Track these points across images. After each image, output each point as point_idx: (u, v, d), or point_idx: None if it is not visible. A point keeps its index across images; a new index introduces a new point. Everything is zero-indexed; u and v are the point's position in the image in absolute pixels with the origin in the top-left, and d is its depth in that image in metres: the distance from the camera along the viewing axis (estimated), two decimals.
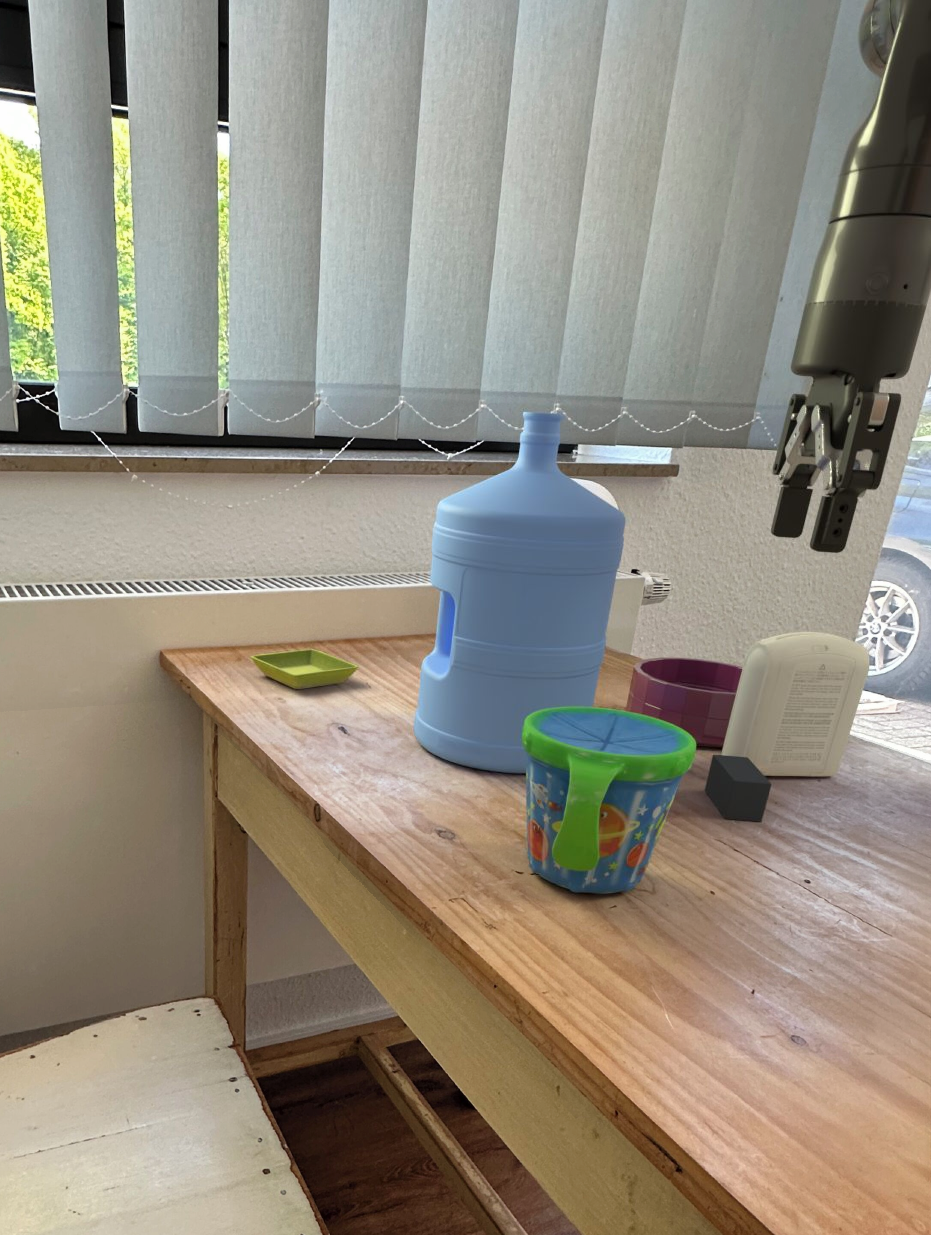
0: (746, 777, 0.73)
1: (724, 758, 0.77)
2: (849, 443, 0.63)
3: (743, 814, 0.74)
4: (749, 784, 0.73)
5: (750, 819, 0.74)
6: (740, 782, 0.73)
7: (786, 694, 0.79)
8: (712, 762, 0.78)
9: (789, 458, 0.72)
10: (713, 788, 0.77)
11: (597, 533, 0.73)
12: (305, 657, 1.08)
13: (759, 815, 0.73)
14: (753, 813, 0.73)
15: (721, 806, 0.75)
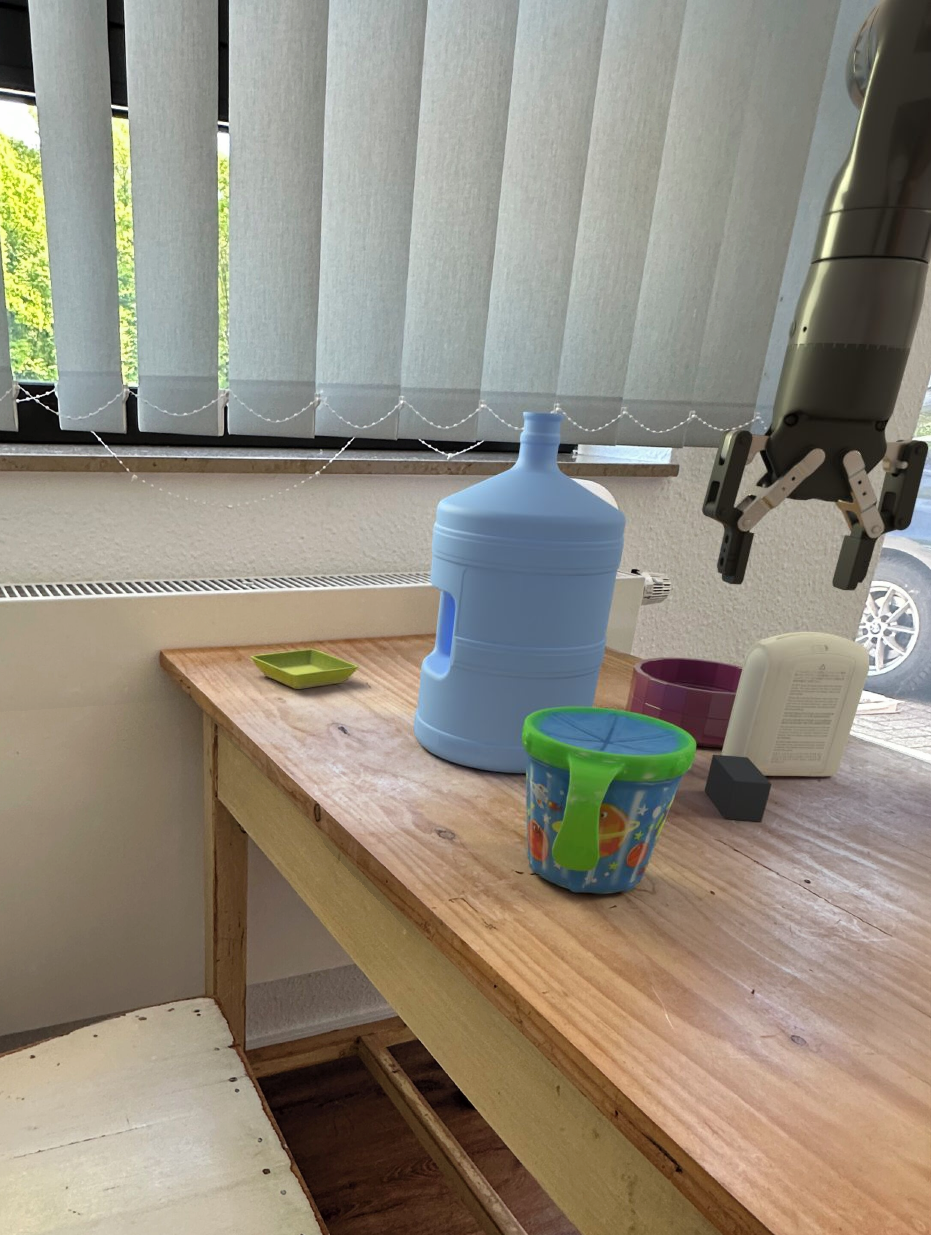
0: (746, 777, 0.73)
1: (724, 758, 0.77)
2: None
3: (743, 814, 0.74)
4: (749, 784, 0.73)
5: (750, 819, 0.74)
6: (740, 782, 0.73)
7: (786, 694, 0.79)
8: (712, 762, 0.78)
9: (836, 503, 0.70)
10: (713, 788, 0.77)
11: (597, 532, 0.73)
12: (305, 657, 1.08)
13: (759, 815, 0.73)
14: (753, 813, 0.73)
15: (721, 806, 0.75)
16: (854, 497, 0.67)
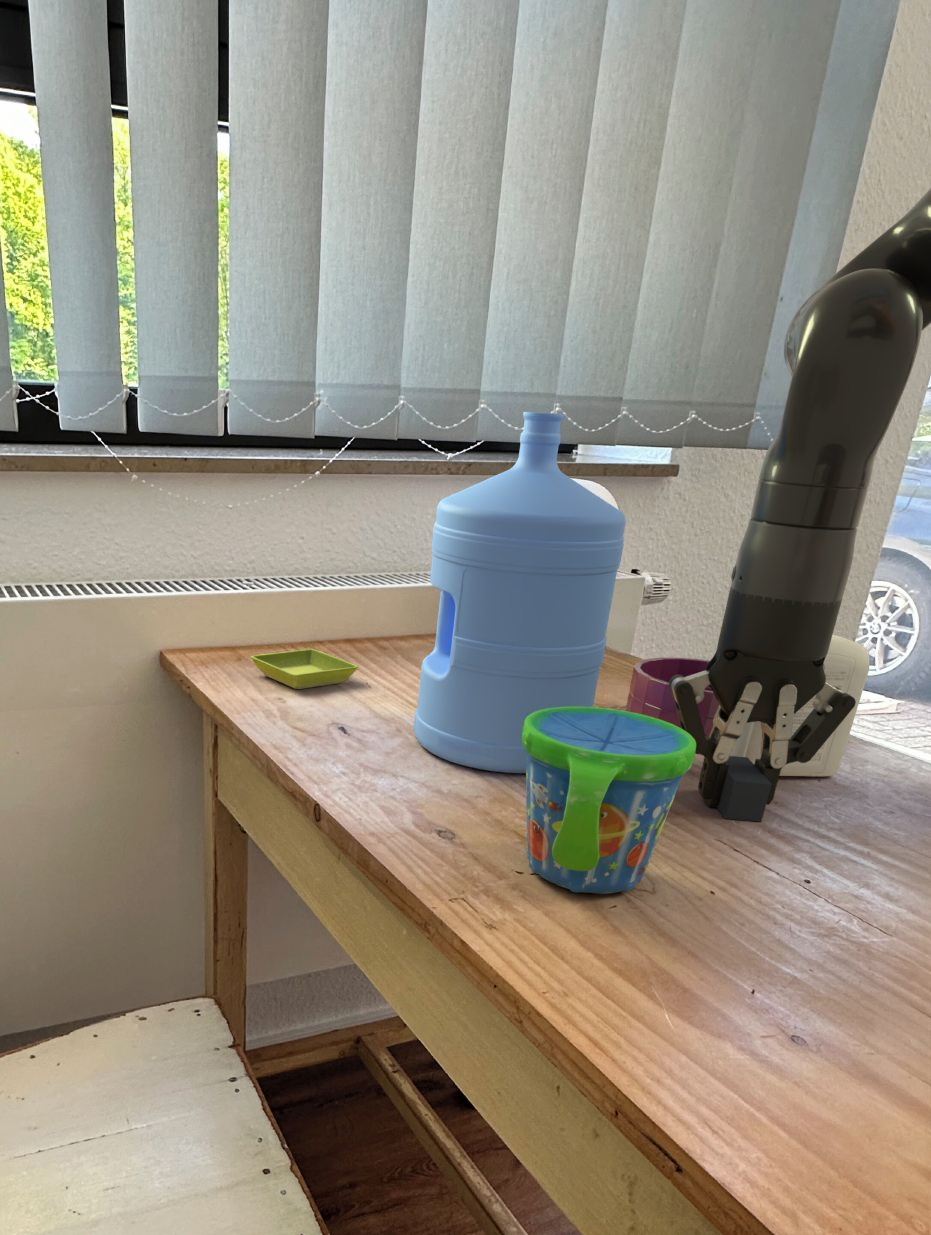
0: (745, 777, 0.73)
1: None
2: None
3: (743, 814, 0.74)
4: (749, 784, 0.73)
5: (750, 819, 0.74)
6: (740, 782, 0.73)
7: None
8: None
9: (761, 723, 0.75)
10: None
11: (597, 532, 0.73)
12: (305, 657, 1.08)
13: (759, 815, 0.73)
14: (753, 813, 0.73)
15: (721, 806, 0.75)
16: (774, 724, 0.72)
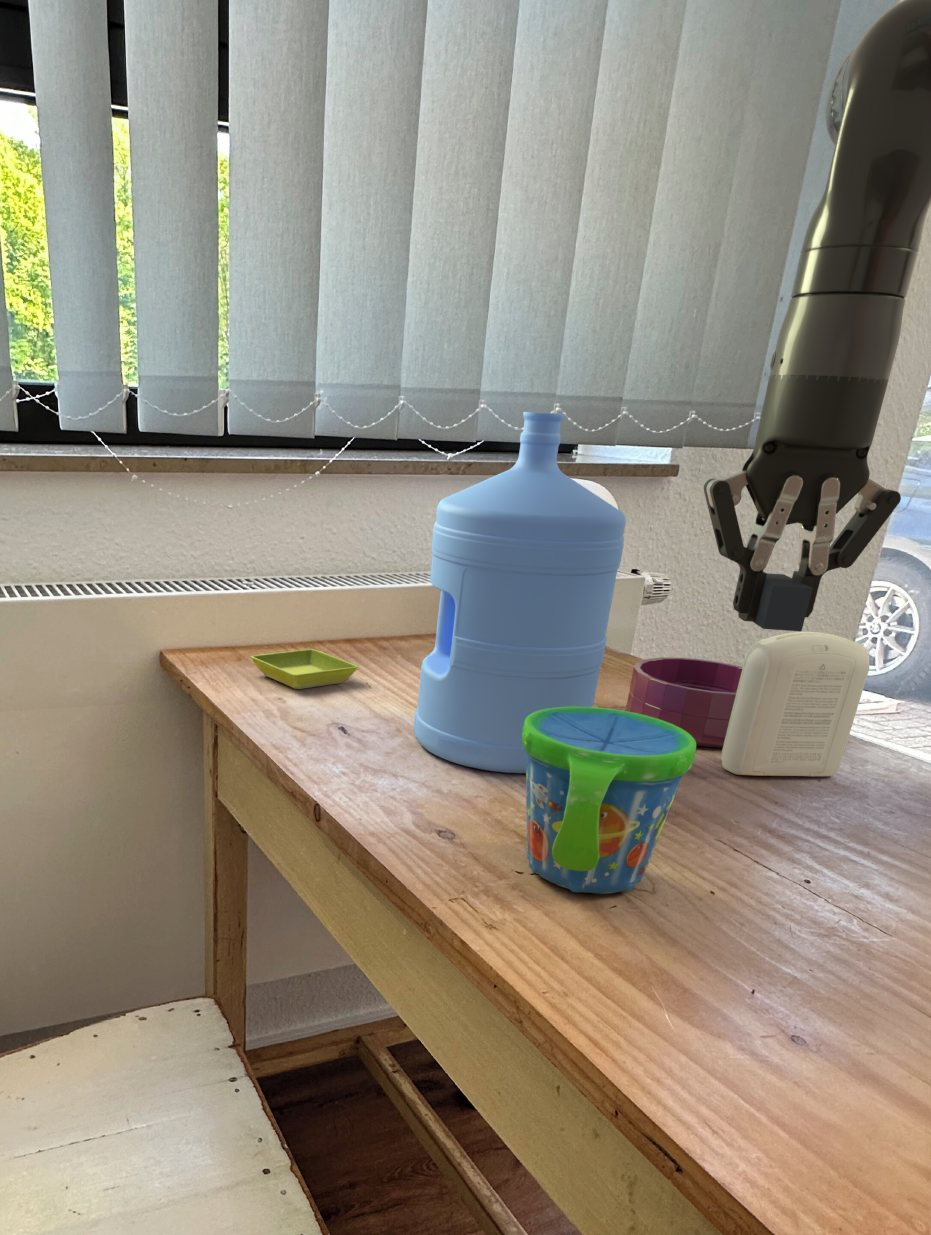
0: (785, 584, 0.70)
1: None
2: None
3: (782, 623, 0.70)
4: (789, 589, 0.69)
5: (789, 628, 0.70)
6: (780, 587, 0.69)
7: (786, 694, 0.79)
8: None
9: (799, 532, 0.72)
10: None
11: (597, 532, 0.73)
12: (305, 657, 1.08)
13: (800, 623, 0.70)
14: (793, 622, 0.70)
15: (758, 618, 0.72)
16: (815, 525, 0.69)
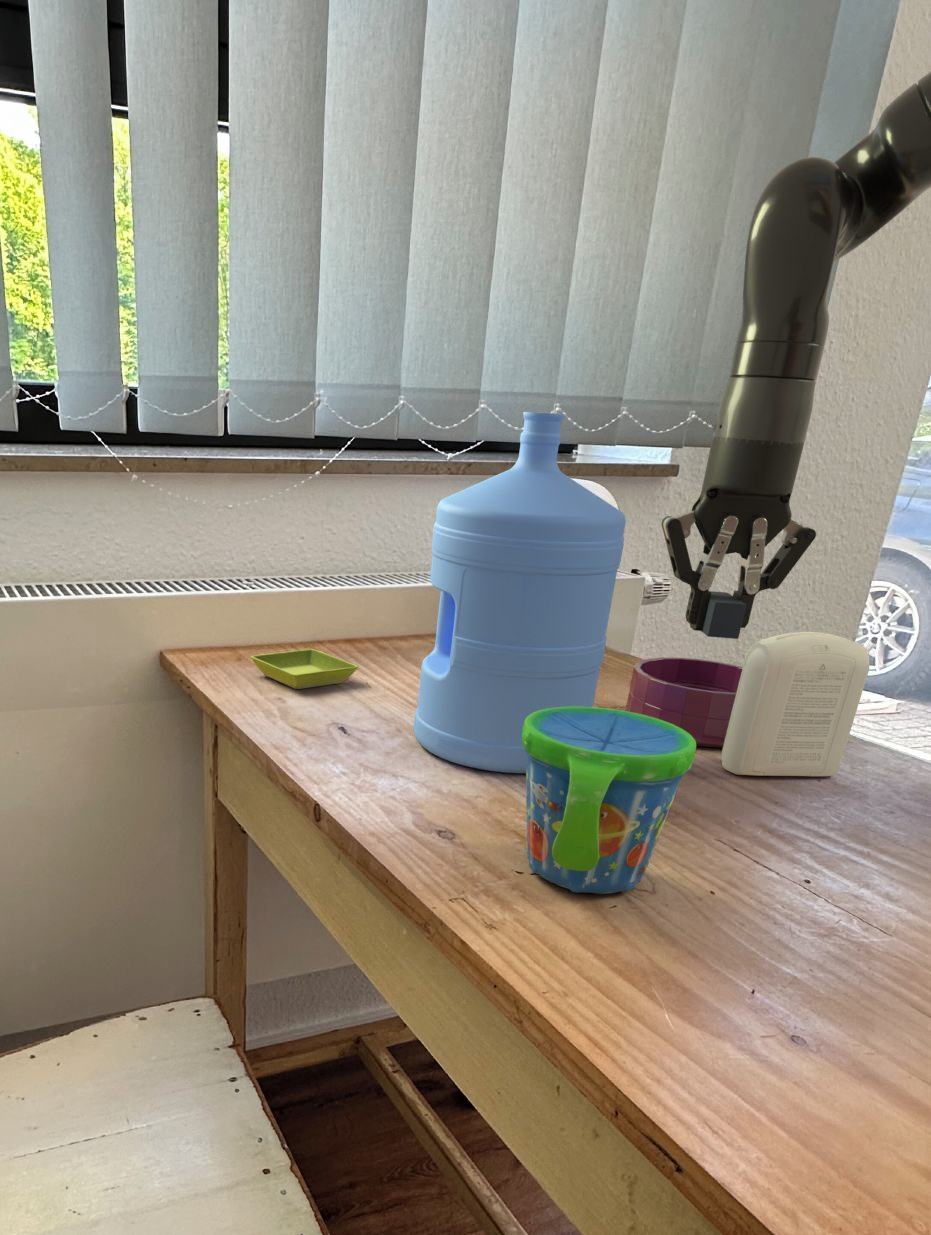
0: (725, 601, 0.88)
1: None
2: None
3: (723, 632, 0.88)
4: (728, 605, 0.87)
5: (728, 636, 0.88)
6: (720, 603, 0.87)
7: (786, 694, 0.79)
8: None
9: (738, 559, 0.90)
10: None
11: (597, 532, 0.73)
12: (305, 657, 1.08)
13: (736, 632, 0.88)
14: (731, 631, 0.88)
15: (705, 628, 0.89)
16: (749, 554, 0.86)
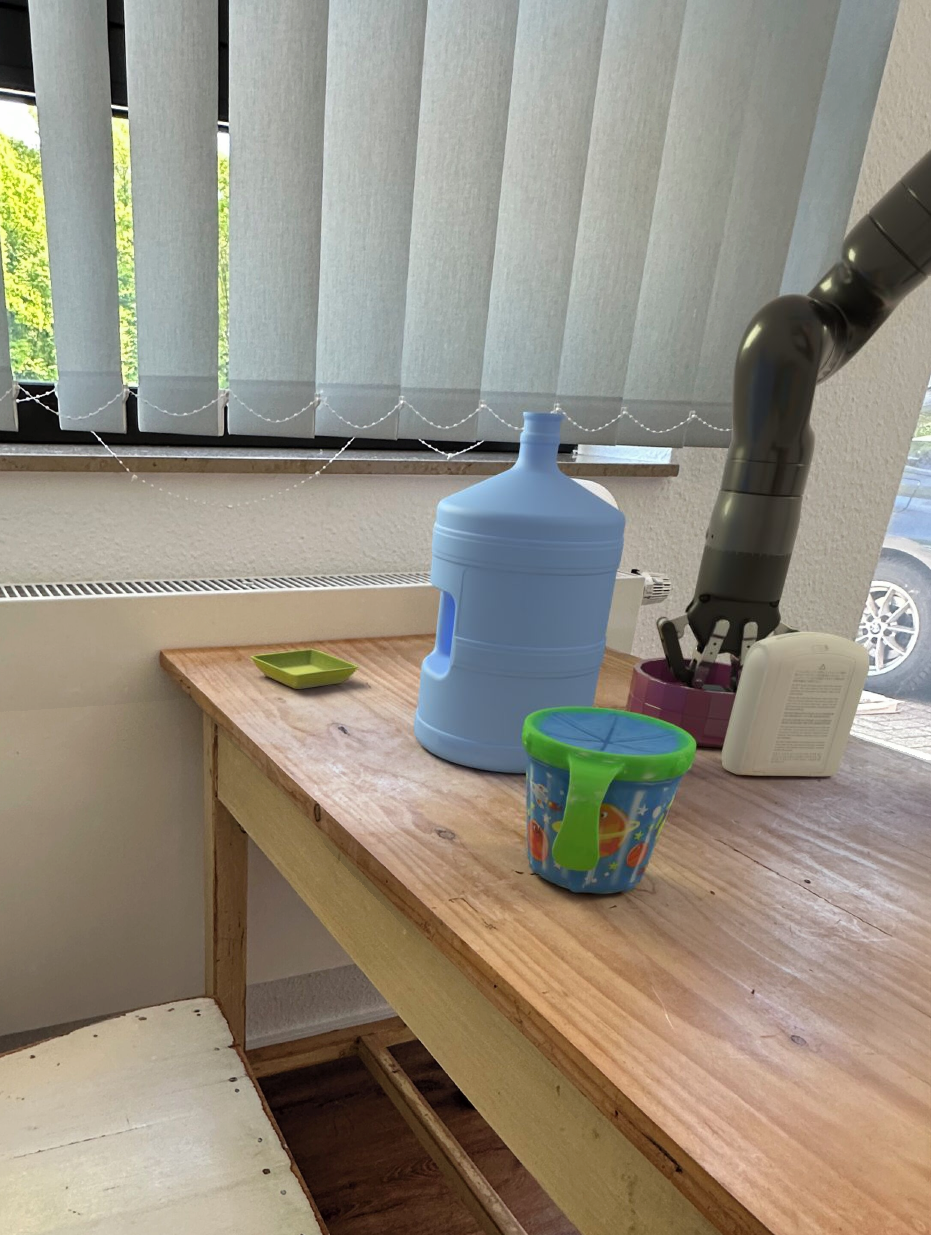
0: None
1: None
2: None
3: None
4: None
5: None
6: None
7: (786, 694, 0.79)
8: None
9: (730, 656, 0.93)
10: None
11: (597, 532, 0.73)
12: (305, 657, 1.08)
13: None
14: None
15: None
16: (740, 655, 0.90)
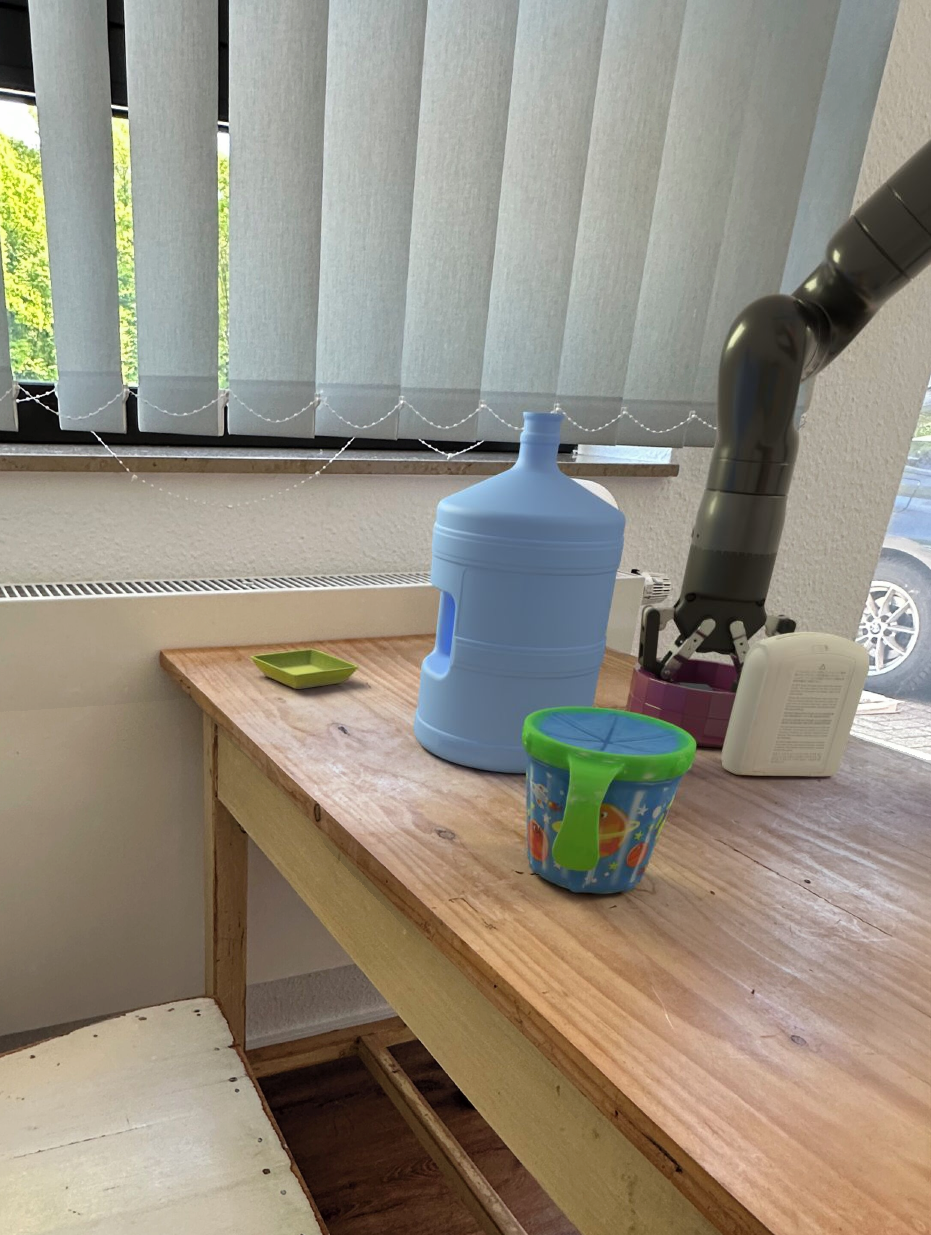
0: None
1: (688, 685, 0.95)
2: None
3: None
4: None
5: None
6: None
7: (786, 694, 0.79)
8: None
9: (729, 654, 0.93)
10: None
11: (597, 532, 0.73)
12: (305, 657, 1.08)
13: None
14: None
15: None
16: (736, 654, 0.90)
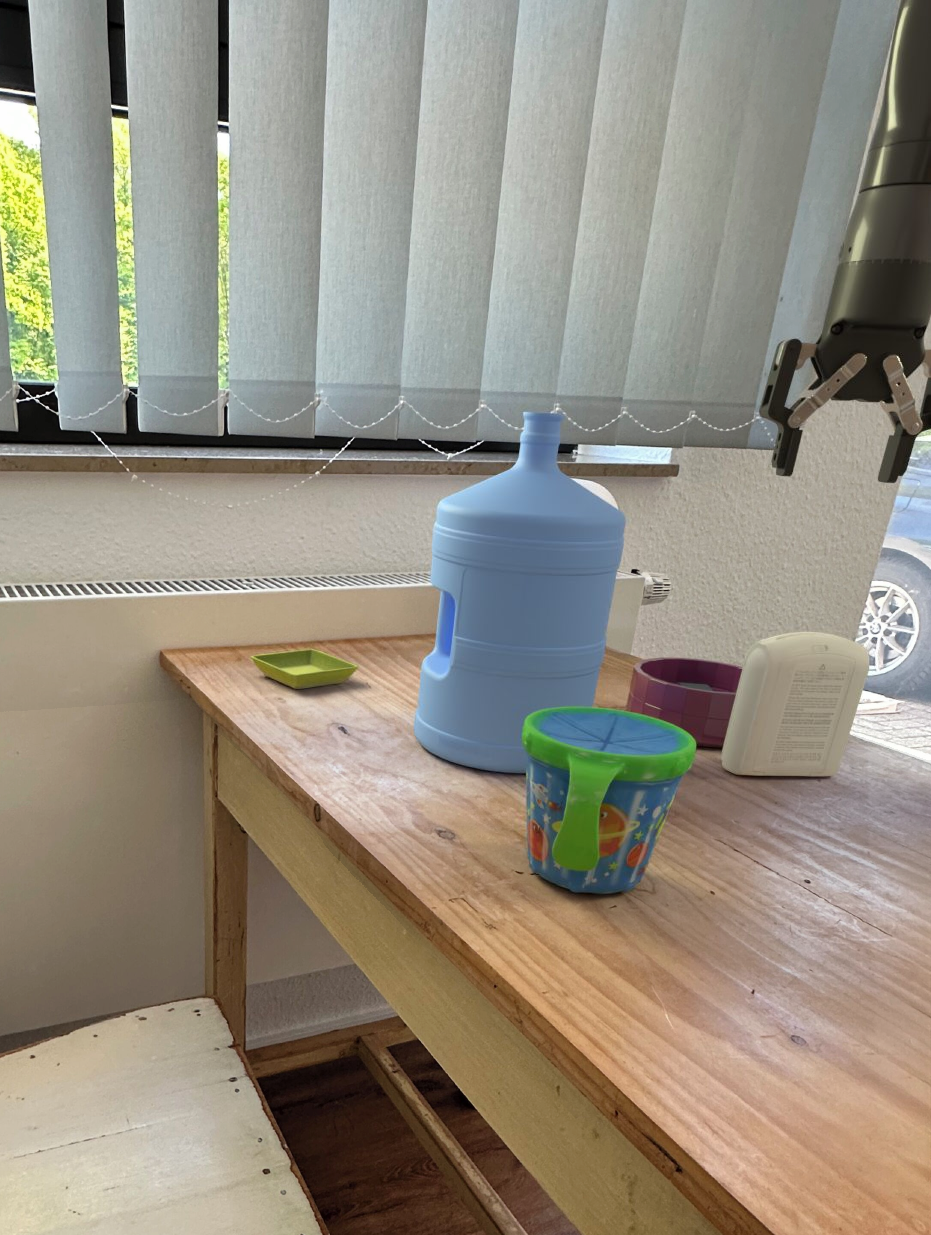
0: None
1: (688, 685, 0.95)
2: None
3: None
4: None
5: None
6: None
7: (786, 694, 0.79)
8: None
9: (882, 406, 0.80)
10: None
11: (597, 533, 0.73)
12: (305, 657, 1.08)
13: None
14: None
15: None
16: (894, 397, 0.77)
